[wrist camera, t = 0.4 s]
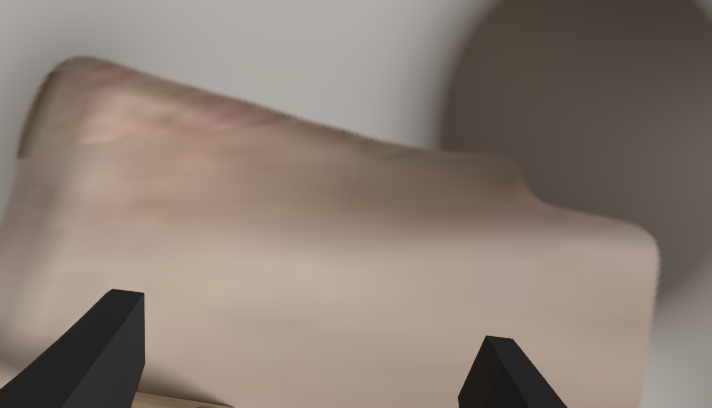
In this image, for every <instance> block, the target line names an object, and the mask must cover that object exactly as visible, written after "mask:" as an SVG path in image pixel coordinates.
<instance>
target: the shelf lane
mask: <svg viewBox="0 0 712 408" xmlns="http://www.w3.org/2000/svg"><path fill="white" fill-rule="evenodd" d="M131 408H234V407H229V406H223V405H217V404H211V403H204V402H198V401H192V400H186V399H180V398H173V397H167V396H161V395H155V394H149V393H142V392H136V394H135V397H134V400H133V403H132V406H131Z"/></svg>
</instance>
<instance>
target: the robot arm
mask: <svg viewBox="0 0 712 408" xmlns="http://www.w3.org/2000/svg"><path fill="white" fill-rule="evenodd" d="M144 365H145V315H144V293H141V292H133V291H125V290H117V289H112V290H110V291H109V292H107V293H106V294H105V295H104V296H103V297H102V298H101V299H100V300H99V301H98V302H97V303H96V304H95V305H94V306H93V307H92V308H91V309H90V310H89V311H88V312H87V313H86V314H85V315H84V316H83V317H82V318H80V319H79V320H78V321H77V322H76V323H75V324H74V325H73V326H72V327H71V328H70V329H69V330H68V331H67V332H66V333H64V334H63V335H62V336H61V337H60V338H59V339H58V340H57V341H56V342H55V343H54V344H52V345H51V346H50V347H49V348H48V349H47V350H46V351H45V352H43V353H42V354H41V355H40V356H39V357H38V358H37V359H35V360H34V361H33V362H32V363H31V364H30V365H29V366H28V367H26V368H25V369H24V370H23V371H22V372H21V373H19V374H18V375H17V376H16V377H15V378H13V379H12V380H11V381H10V382H8V383H7V384H6V385H5V386H4V387H2V388H1V389H0V408H131V406H132V403H133V400H134V397H135V394H136V391H137V388H138V384H139V381H140V378H141V375H142V371H143V368H144ZM458 402H459V408H567V406H566V405H565V404H564V403H563V402H562V400H561V399H560V398H559V397H558V395H557V394H556V393H555V392H554V390H553V389H552V388H551V386H550V385H549V384H548V383H547V381H546V380H545V379H544V378H543V376H542V375H541V374H540V373H539V371H538V370H537V369H536V367H535V366H534V365H533V364H532V362H531V361H530V360H529V358H528V357H527V356H526V355H525V353H524V352H523V351H522V350H521V348H520V347H519V346H518V345H517V344H516V342H515V341H514V340H513V339H510V338H502V337H494V336H486V337H485V339H484V341H483V343H482V345H481V348H480V350H479V352H478V354H477V356H476V359H475V361H474V363H473V365H472V367H471V370H470V372H469V374H468V376H467V378H466V380H465V383H464V385H463V387H462V389H461V391H460V394H459V396H458Z"/></svg>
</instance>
